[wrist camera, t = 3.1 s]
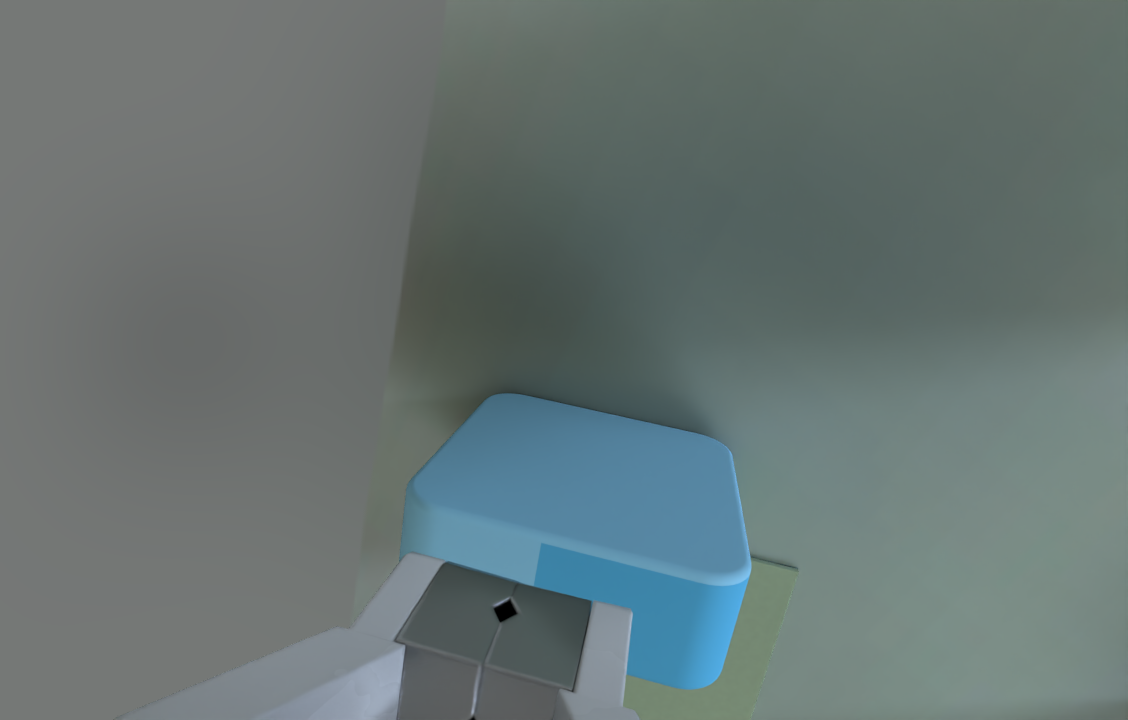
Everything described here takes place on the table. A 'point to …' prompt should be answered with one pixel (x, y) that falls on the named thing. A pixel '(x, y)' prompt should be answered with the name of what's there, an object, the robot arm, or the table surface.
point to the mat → (727, 658)
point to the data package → (595, 522)
